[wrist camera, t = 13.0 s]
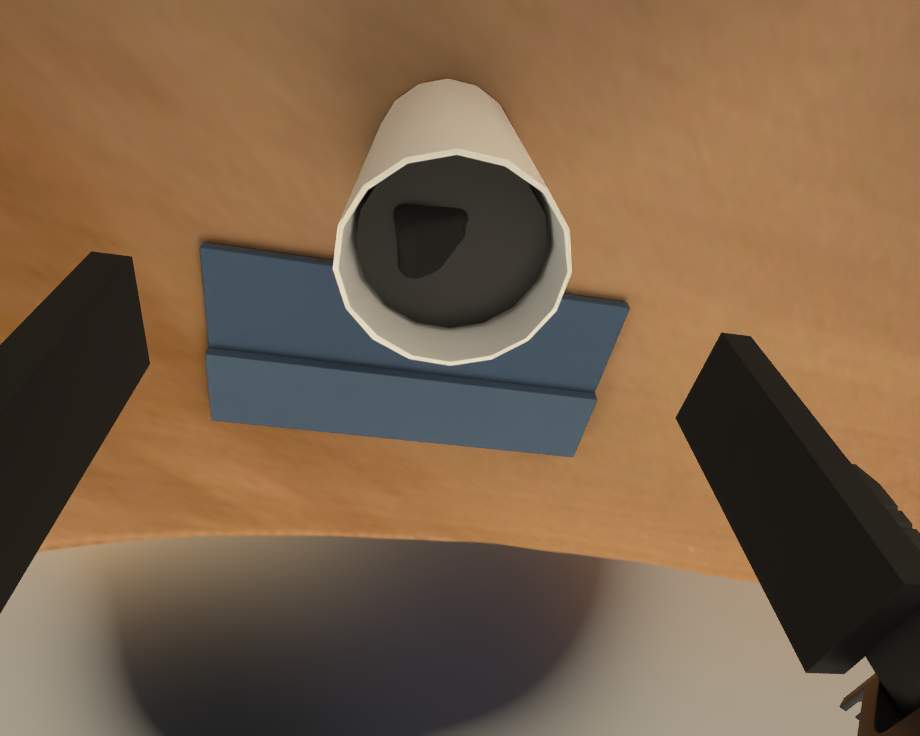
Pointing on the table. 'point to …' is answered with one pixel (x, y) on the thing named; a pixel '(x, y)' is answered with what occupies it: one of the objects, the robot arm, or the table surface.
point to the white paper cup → (450, 232)
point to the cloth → (388, 364)
